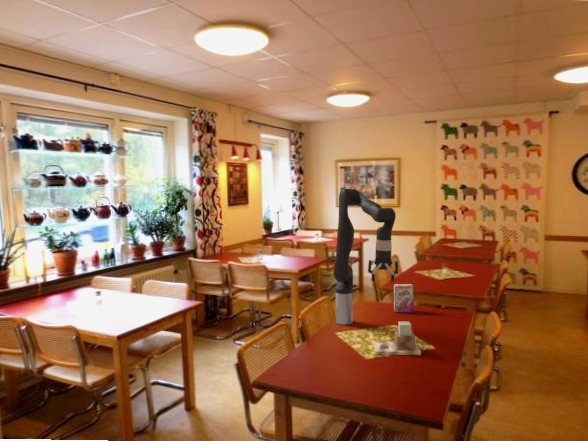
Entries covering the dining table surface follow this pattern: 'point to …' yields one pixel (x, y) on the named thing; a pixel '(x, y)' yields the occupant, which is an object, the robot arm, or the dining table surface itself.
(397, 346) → the walnut base block
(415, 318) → the dining table surface
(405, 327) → the sage cube
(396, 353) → the birch board
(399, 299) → the candy bar box
